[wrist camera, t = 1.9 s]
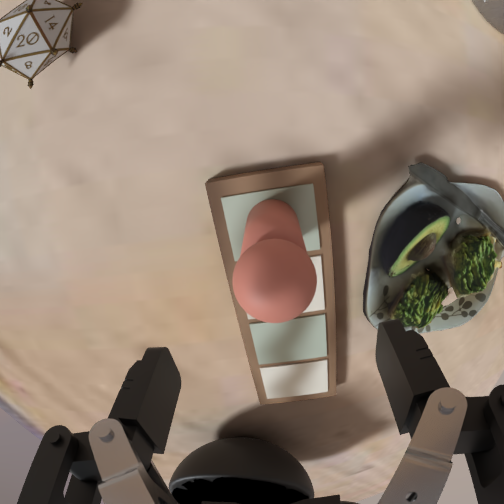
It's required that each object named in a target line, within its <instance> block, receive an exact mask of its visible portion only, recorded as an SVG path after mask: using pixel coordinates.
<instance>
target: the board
mask: <svg viewBox="0 0 504 504" xmlns="http://www.w3.org/2000/svg"><path fill="white" fill-rule="evenodd" d="M205 186H206V190H207V195H208V199H209V203H210V208H211V212H212V216H213V221H214V225H215V229H216V234H217V238H218V242H219V246H220V251H221V255H222V259H223V263H224V267H225V271H226V275H227V279H228V283H229V287H230V291H231V295H232V299H233V303H234V307H235V311H236V315H237V319H238V323H239V327H240V331H241V335H242V338H243V342H244V346H245V350H246V353H247V357H248V361H249V365H250V368H251V372H252V376H253V379H254V383H255V387H256V390H257V394H258V398H259V401H260V405H262V404H274V403H284V402H293V401H302V400H310V399H317V398H324V397H330V396H336V315H335V290H334V271H333V256H332V242H331V230H330V219H329V208H328V198H327V189H326V180H325V172H324V165H323V164H322V163H321V162H316V163H308V164H301V165H293V166H286V167H279V168H273V169H266V170H260V171H254V172H248V173H242V174H236V175H230V176H225V177H219V178H214V179H209V180H208V181H207V182H206V183H205ZM268 199H276V200H281V201H283V202H285V203H287V204H288V205H290V206H291V207H292V208H293V210H294V211H295V213H296V215H297V218H298V221H299V225H300V229H301V232H302V236H303V239H304V243H305V247H306V250H307V254H308V255H309V257H310V258H311V260H312V262H313V264H314V267H315V270H316V275H317V286H316V292H315V295H314V297H313V300H312V302H311V303H310V305H309V306H308V307H307V309H306V310H305V311H304V312H303V313H302V314H300V315H299V316H297V317H296V318H294V319H292V320H289V321H286V322H282V323H267V322H263V321H260V320H257V319H256V318H254V317H252V316H250V315H249V314H248V313H247V312H245V310H244V309H243V308H242V307H241V306H240V304H239V303H238V301H237V299H236V297H235V294H234V290H233V283H232V279H233V272H234V268H235V265H236V263H237V261H238V259H239V258H240V254H241V249H242V243H243V238H244V232H245V227H246V221H247V217H248V214H249V212H250V211H251V209H252V208H253V207H254V206H255V205H256V204H258V203H259V202H261V201H264V200H268Z"/></svg>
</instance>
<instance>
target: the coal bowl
mask: <svg viewBox="0 0 504 504" xmlns="http://www.w3.org/2000/svg"><path fill="white" fill-rule="evenodd" d="M169 490H170V492H171V493H172V496H173V497H174V499H175V500H176V501H177V502H178V503H179V504H201V503H202V501H210V502H235V503H239V504H291V503H295V502H298V501H301V500H304V499H312V498H314V490H313V486H312V483H311V480H310V478H309V476H308V474H307V472H306V471H305V469H304V468H303V466H302V465H301V464H300V463H299V462H298V460H297V459H296V458H294V457H293V456H292V455H291V454H290V453H288V452H287V451H285V450H284V449H282V448H280V447H278V446H276V445H274V444H272V443H269V442H266V441H263V440H259V439H254V438H245V437H235V438H225V439H221V440H217V441H213V442H211V443H208V444H205V445H203V446H201V447H200V448H198V449H196V450H195V451H193V452H192V453H191V454H189V455H188V456H187V457H186V458H185V459H184V460H183V461H182V462H181V463H180V464H179V466H178V467H177V468H176V470H175V472H174V473H173V475H172V478H171V480H170V483H169Z"/></svg>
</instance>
